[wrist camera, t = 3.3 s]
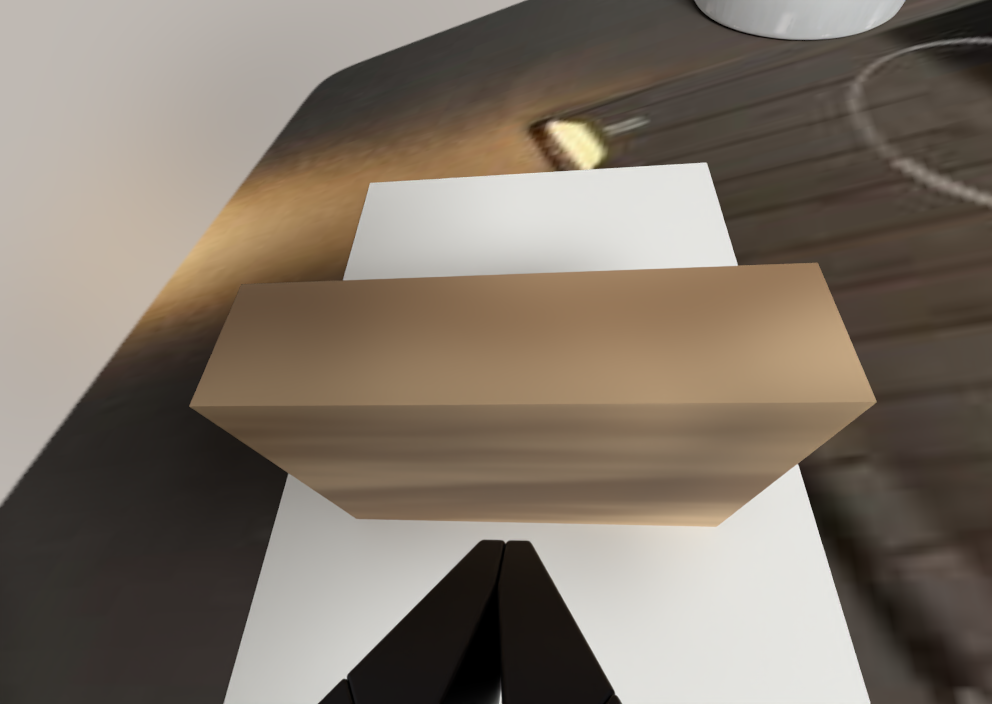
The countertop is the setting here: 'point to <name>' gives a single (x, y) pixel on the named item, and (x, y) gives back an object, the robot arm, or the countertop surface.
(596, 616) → the mat
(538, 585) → the robot arm
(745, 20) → the utensil holder
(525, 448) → the oak board
